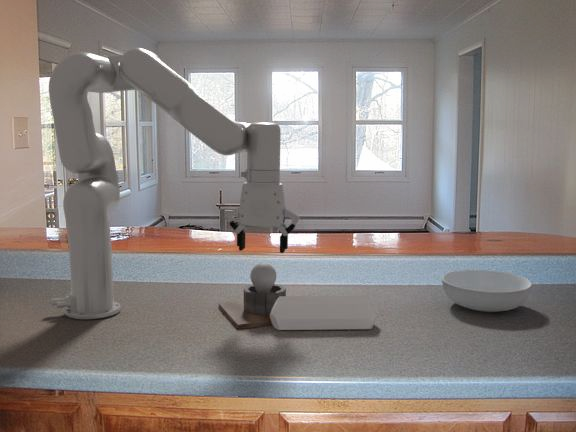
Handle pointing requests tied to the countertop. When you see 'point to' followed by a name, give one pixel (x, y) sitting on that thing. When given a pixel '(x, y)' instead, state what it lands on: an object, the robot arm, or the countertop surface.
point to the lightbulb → (263, 277)
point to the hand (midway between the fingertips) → (262, 250)
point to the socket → (252, 307)
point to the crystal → (323, 313)
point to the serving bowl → (486, 289)
